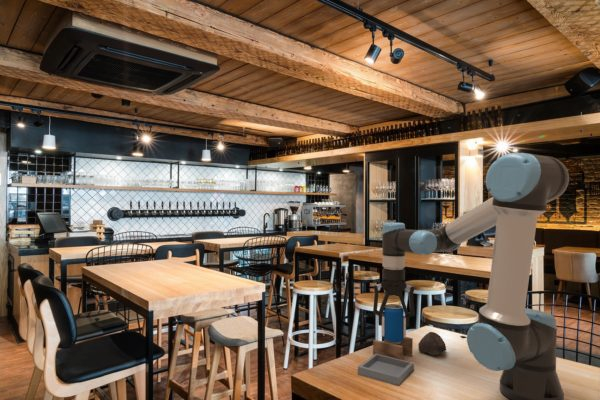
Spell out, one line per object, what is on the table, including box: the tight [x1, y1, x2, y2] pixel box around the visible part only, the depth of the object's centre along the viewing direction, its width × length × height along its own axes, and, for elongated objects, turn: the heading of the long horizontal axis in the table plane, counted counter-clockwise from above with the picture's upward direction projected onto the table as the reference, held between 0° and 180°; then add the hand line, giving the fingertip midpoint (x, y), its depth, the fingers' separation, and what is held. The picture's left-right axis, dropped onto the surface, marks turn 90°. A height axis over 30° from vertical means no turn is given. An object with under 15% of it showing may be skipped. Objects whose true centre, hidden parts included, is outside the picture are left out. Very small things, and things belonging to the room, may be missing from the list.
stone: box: [417, 331, 447, 356], centre depth 138 cm, size 10×8×10 cm
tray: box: [357, 353, 415, 387], centre depth 122 cm, size 13×13×2 cm
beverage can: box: [383, 303, 404, 344], centre depth 134 cm, size 6×6×12 cm
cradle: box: [372, 336, 414, 360], centre depth 134 cm, size 10×10×6 cm
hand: (393, 335), depth 134 cm, fingers closed on beverage can, 6 cm apart
